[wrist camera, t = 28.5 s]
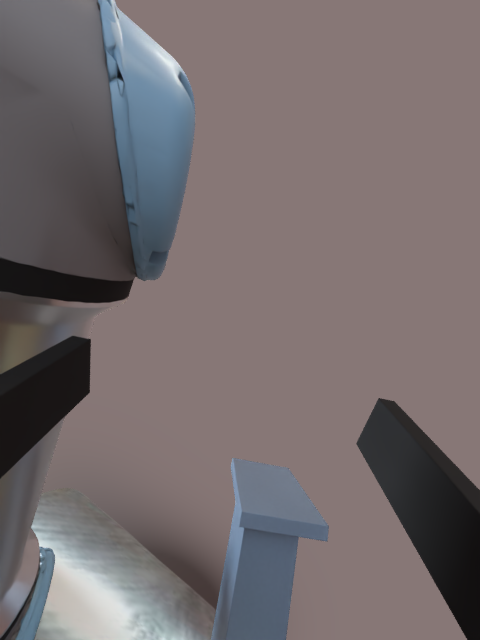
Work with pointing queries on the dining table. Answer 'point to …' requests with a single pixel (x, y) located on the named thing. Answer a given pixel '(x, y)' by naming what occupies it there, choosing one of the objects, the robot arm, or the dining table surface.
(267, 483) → the stand
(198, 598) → the dining table surface
